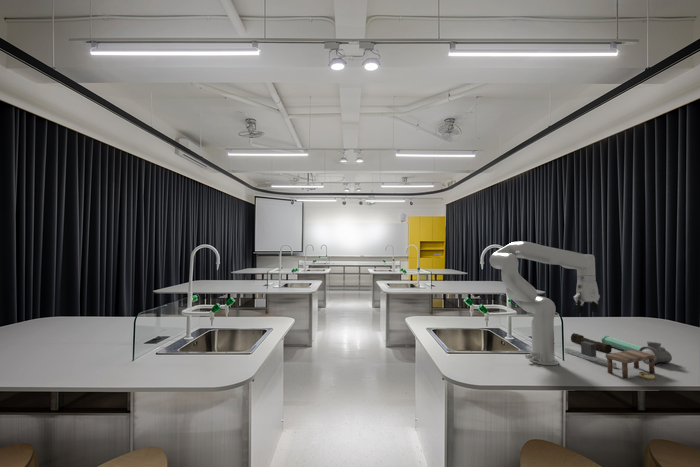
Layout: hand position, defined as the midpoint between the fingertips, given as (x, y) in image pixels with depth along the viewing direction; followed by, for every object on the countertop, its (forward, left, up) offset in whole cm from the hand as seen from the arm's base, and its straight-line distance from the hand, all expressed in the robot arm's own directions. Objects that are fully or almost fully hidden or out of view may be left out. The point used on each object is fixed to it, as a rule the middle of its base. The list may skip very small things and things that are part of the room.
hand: (587, 312), depth 164 cm
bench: (0, -19, -23) cm, 30 cm away
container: (+32, +1, -24) cm, 40 cm away
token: (0, -25, -24) cm, 34 cm away
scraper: (0, 0, -24) cm, 24 cm away
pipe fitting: (+26, -15, -24) cm, 38 cm away
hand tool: (+20, +14, -24) cm, 34 cm away
